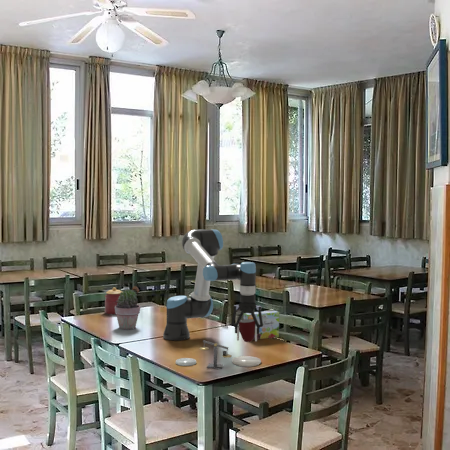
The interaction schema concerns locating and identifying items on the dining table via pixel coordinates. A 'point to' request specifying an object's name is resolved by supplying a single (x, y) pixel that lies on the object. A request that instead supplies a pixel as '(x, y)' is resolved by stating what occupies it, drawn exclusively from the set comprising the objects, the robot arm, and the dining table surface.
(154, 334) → the dining table surface
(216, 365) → the balance
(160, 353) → the dining table surface
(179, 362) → the saucer left
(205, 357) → the dining table surface
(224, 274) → the robot arm
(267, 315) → the snack box
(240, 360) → the dish right
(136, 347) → the dining table surface
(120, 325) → the potted plant
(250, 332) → the mug
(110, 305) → the canister
